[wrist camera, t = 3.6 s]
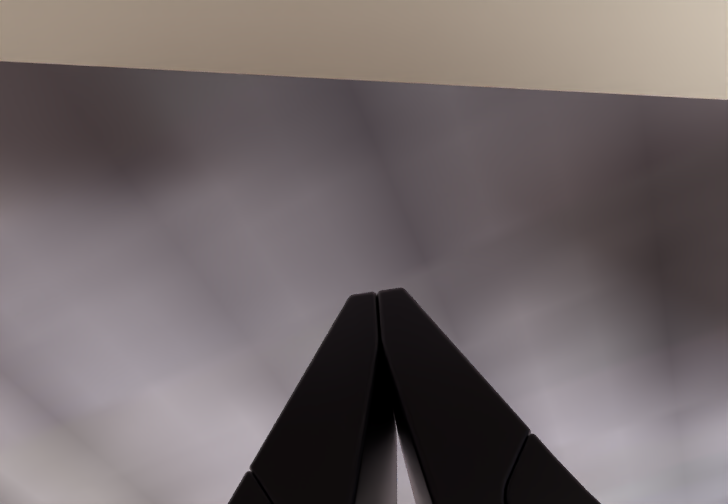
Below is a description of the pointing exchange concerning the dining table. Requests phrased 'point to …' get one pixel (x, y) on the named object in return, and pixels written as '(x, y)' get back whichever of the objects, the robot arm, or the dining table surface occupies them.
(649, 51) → the ash block
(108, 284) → the dining table surface
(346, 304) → the robot arm
